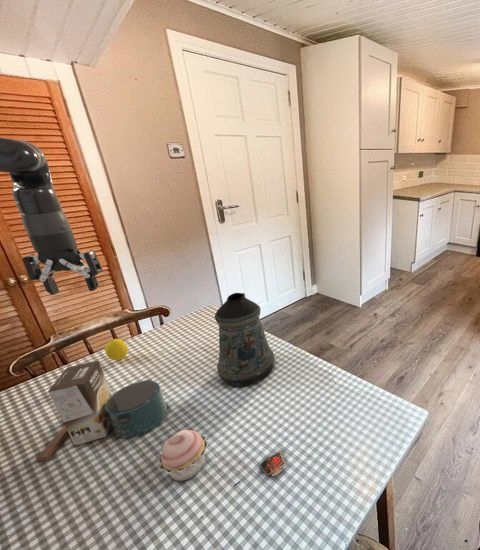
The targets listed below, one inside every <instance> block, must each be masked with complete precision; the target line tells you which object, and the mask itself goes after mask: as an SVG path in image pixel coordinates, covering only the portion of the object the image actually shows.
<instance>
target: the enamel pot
mask: <svg viewBox="0 0 480 550" xmlns="http://www.w3.org/2000/svg"><path fill="white" fill-rule="evenodd" d="M105 410H106V412H107V414H108V417H109V419H110V421H111V423H112V425H111V427H112V429H113V430H114V432H115V434H116V436H118V437H119V438H125V439H130V438H135V437H139V436H141V435H144V434H146V433H148V432H150V431H151V430H153V429H155V428H156V427H157V426H158V425H159V424H160V423H161V422H163V421H164V419H165V417H166V416H167V413H168V407H167V404H166V400H165V398H164V394H163V392H162V389H161V387H160V384H159V383H158V382H157V381H153V380H152V379H146V380H141V381H137V382H134V383H131V384H129V385H126V386H125V387H123V388H120V389H118V391H116V392H114V393H113V394H112V396H111V397H110V398H109V400H108V401H107V402H106V405H105Z"/></svg>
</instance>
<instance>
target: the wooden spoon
mask: <svg viewBox="0 0 480 550" xmlns="http://www.w3.org/2000/svg"><path fill="white" fill-rule="evenodd" d="M68 435H69V433H68V431H67V429H66V427H65V425H64V424H63V426H62V428H61V429H60V430H59V431H58V432H57V434H56V435H55V436H54V438H52V439H51V441H50V442H49V444H48V445H47V446H46V447H45V448H44V450H43V451H42V452H41V453H40V455H38V456H37V460H38V462H43V461H48V460H49V459H50V458H51V456H52V455H53V454H54V453H55V452H56V450H57V449H58V448H59V446H60V445H61V444H62V443H63V441H64V440H65V439H66V437H67V436H68Z"/></svg>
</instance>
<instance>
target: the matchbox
mask: <svg viewBox="0 0 480 550" xmlns="http://www.w3.org/2000/svg"><path fill="white" fill-rule="evenodd" d="M285 465H286V462H285V459H284V455H283V452H282V451H276V452H275V453H273V454H272V455H271V456H269V457H267V458H265V459H264V461H263V462H262V463H260V467H261V469H262V472H263V473H264V474H266V475H267V476H269V475H271V476H272V477H275V476H277V475H278V474H280V473H281V472H282V471H283V469H282V467H284V466H285Z"/></svg>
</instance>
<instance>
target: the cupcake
mask: <svg viewBox="0 0 480 550" xmlns="http://www.w3.org/2000/svg"><path fill="white" fill-rule="evenodd" d="M206 439H207V436H206V435H200V433H199V432H197V430H189V429H184V430H180V431H177V432H176V433H175V434H174V435H172V436H171V437H169V438H168V439H167V440H166V441H165V442H164V444H163V446H162V453H161V455H160V456H159V457H158V459H157V462H158V463H160V464H159V465H158V470H159V471H162V472H165V473H166V474H167V475H168V476H170V477H171V478H172V479H173V480H175V481H179V482H185V481H187V480H189V479H192V478H193V477H195V476H196V475H197V474H198V473H199V472H201V470H202V469H203V467H204V466H205V462H206V451H207V449H208V445H209V442H208V441H206Z"/></svg>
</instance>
